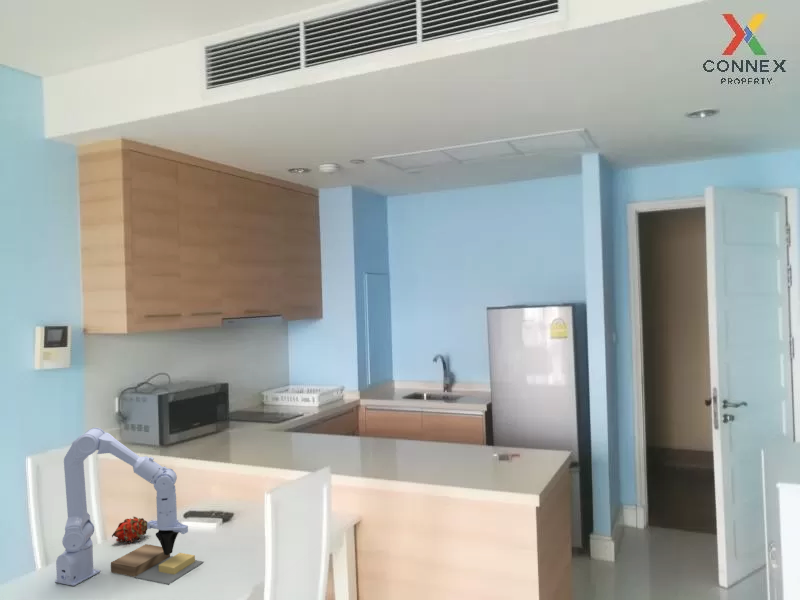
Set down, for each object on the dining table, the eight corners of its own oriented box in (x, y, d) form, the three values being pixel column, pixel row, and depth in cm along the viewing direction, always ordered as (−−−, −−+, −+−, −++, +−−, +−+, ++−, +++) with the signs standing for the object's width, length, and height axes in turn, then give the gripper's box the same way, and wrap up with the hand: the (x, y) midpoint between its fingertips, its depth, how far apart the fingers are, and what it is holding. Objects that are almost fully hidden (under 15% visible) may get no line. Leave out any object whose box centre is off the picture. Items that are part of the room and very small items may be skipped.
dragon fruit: (152, 540, 210) (115, 555, 203) (144, 521, 215) (108, 535, 208) (152, 526, 205) (115, 540, 198) (144, 507, 210) (107, 520, 203)
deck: (135, 577, 179) (135, 567, 179) (111, 572, 183) (110, 562, 183) (170, 557, 192) (169, 548, 192) (146, 553, 196) (145, 544, 196)
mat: (168, 584, 174) (168, 583, 174) (134, 577, 179) (134, 576, 179) (203, 562, 188) (203, 561, 188) (171, 556, 192) (171, 555, 192)
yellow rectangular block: (158, 565, 182) (158, 571, 182) (174, 567, 179) (174, 574, 179) (179, 552, 190) (179, 559, 190) (194, 555, 188) (195, 561, 188)
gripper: (194, 508, 187) (195, 551, 187) (158, 503, 192) (159, 545, 192) (178, 516, 180) (179, 560, 180) (141, 510, 186) (142, 554, 186)
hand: (168, 553), depth 186 cm, fingers closed
